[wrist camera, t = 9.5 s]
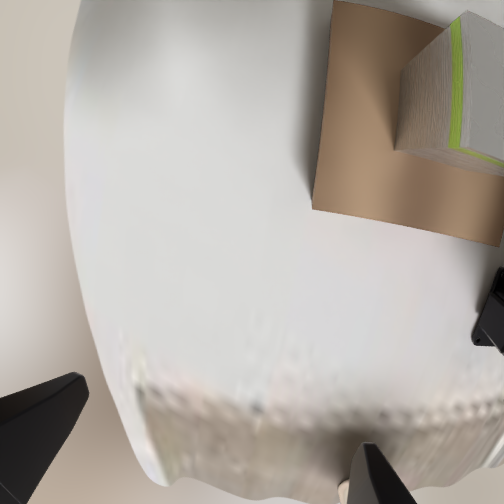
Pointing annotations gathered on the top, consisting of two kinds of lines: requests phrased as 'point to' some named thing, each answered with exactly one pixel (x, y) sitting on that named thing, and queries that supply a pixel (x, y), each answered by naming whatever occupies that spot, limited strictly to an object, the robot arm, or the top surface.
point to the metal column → (456, 98)
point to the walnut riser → (390, 137)
